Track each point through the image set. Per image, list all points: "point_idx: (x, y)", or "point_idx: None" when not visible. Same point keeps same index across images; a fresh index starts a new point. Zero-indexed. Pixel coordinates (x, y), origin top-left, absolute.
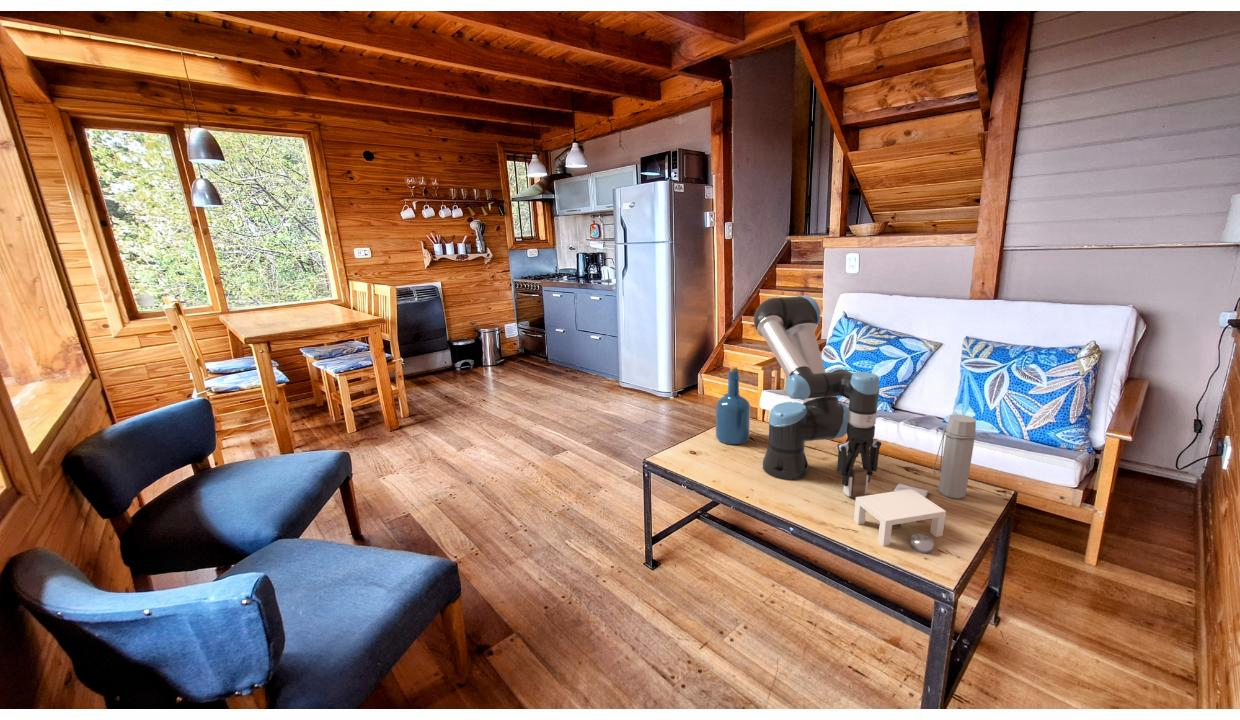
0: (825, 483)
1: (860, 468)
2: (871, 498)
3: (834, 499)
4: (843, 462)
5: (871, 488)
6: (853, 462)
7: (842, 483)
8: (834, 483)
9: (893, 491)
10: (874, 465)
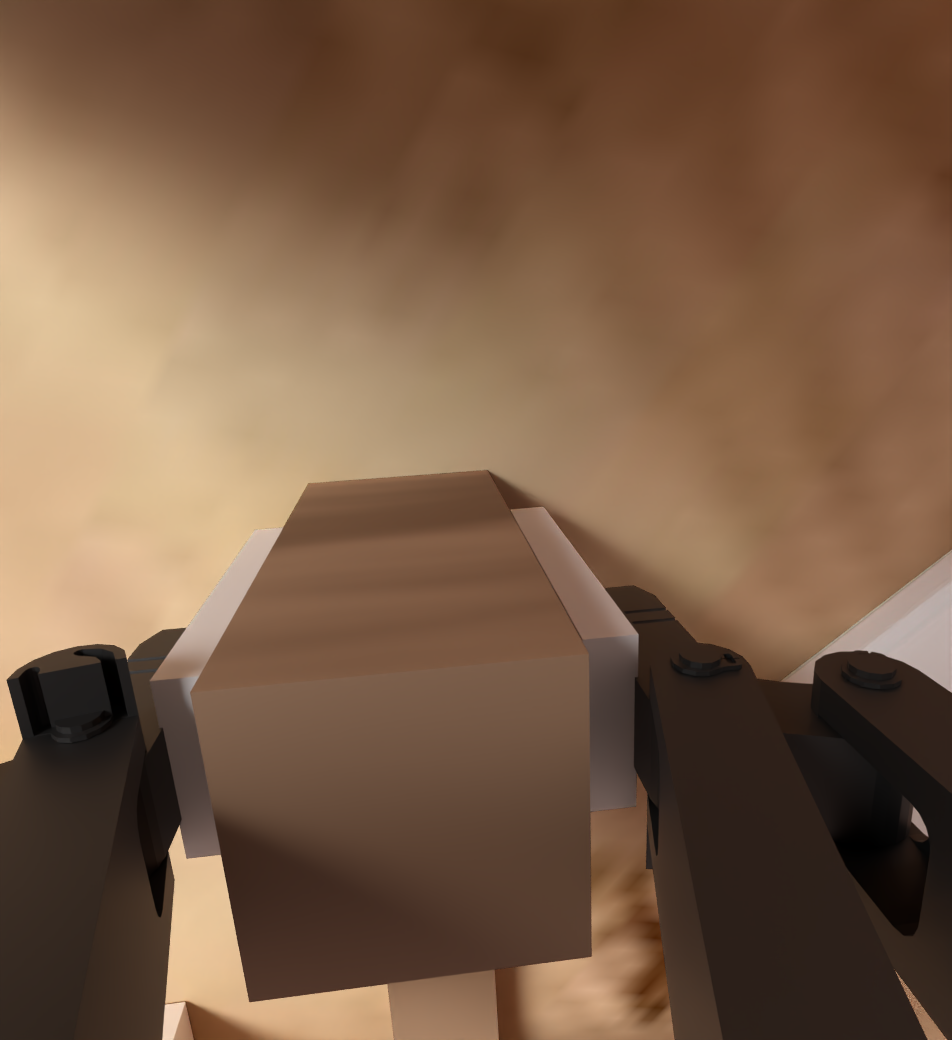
0: (140, 157)
1: (521, 825)
2: None
3: (81, 619)
4: None
5: (726, 447)
6: None
7: (149, 645)
8: (292, 193)
9: (893, 634)
10: (901, 955)
